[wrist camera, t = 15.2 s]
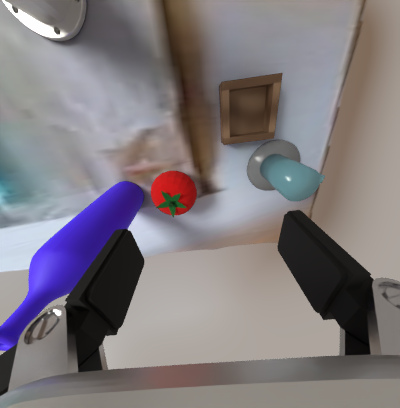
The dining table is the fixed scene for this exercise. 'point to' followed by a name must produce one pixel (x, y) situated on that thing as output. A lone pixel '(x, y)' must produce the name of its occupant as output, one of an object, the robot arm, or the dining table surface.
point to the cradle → (249, 108)
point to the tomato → (173, 193)
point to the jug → (290, 177)
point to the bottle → (71, 254)
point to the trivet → (263, 152)
